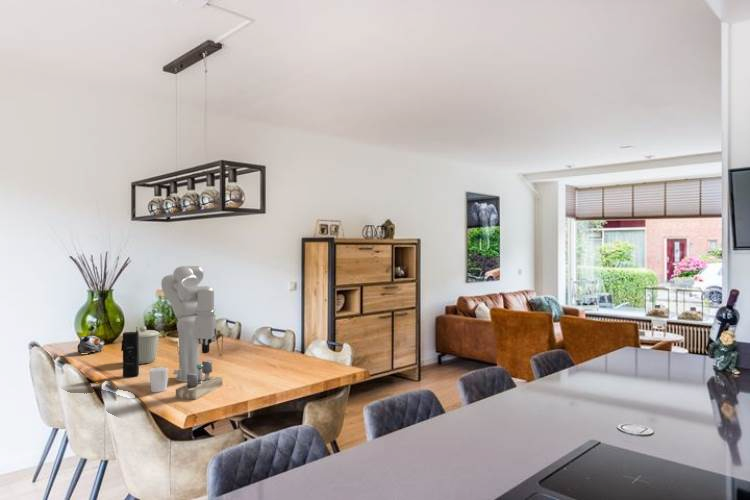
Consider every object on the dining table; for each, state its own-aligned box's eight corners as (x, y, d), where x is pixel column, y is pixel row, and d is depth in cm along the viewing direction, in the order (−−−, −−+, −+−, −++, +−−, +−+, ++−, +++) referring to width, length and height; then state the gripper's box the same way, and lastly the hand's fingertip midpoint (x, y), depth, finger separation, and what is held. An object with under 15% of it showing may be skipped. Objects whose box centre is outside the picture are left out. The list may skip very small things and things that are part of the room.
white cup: (170, 387, 230) (170, 366, 230) (164, 392, 222) (164, 371, 222) (154, 388, 230) (153, 367, 230) (146, 393, 222) (146, 371, 222)
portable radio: (120, 378, 248) (119, 329, 248) (123, 375, 254) (122, 327, 254) (137, 376, 250) (136, 328, 250) (139, 373, 256) (139, 326, 256)
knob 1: (185, 396, 216) (185, 375, 216) (190, 393, 220) (190, 372, 220) (194, 396, 215) (193, 375, 215) (199, 393, 219) (199, 373, 219)
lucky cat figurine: (105, 349, 319) (109, 332, 315) (98, 360, 308) (102, 342, 304) (80, 344, 315) (84, 326, 311) (72, 355, 304) (76, 337, 300)
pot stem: (195, 383, 222) (195, 365, 222) (198, 381, 225) (198, 364, 225) (201, 383, 222) (200, 366, 222) (204, 382, 225) (204, 364, 225)
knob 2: (200, 382, 228) (200, 362, 228) (205, 379, 232) (205, 359, 232) (208, 382, 227) (208, 362, 227) (213, 380, 231) (213, 360, 231)
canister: (159, 364, 278) (159, 327, 277) (124, 367, 271) (123, 329, 271) (160, 357, 294) (160, 323, 294) (127, 360, 288) (127, 325, 288)
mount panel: (175, 398, 214) (175, 389, 214) (203, 384, 235) (203, 376, 235) (196, 399, 212) (195, 390, 212) (222, 385, 233) (222, 377, 233)
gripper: (186, 314, 227) (186, 353, 227) (215, 316, 223) (215, 355, 223) (196, 312, 234) (196, 350, 234) (224, 313, 230) (224, 352, 231)
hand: (205, 352), depth 229 cm, fingers closed
